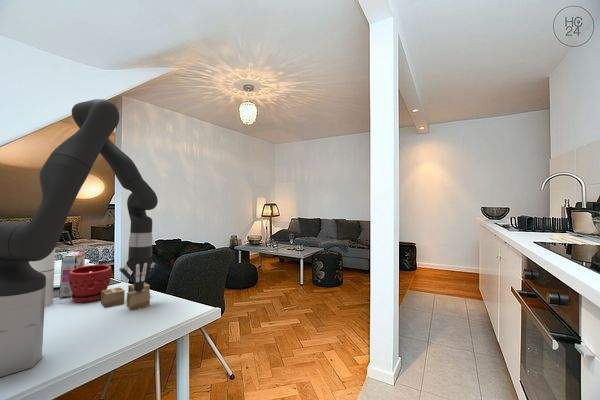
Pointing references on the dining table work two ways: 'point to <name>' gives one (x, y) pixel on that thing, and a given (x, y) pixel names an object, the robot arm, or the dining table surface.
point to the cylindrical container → (46, 274)
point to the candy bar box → (67, 265)
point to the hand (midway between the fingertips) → (138, 291)
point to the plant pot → (89, 282)
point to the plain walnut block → (138, 299)
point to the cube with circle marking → (146, 287)
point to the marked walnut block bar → (112, 297)
